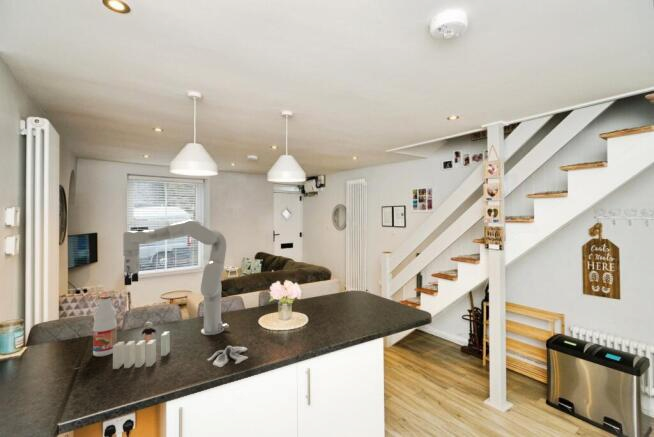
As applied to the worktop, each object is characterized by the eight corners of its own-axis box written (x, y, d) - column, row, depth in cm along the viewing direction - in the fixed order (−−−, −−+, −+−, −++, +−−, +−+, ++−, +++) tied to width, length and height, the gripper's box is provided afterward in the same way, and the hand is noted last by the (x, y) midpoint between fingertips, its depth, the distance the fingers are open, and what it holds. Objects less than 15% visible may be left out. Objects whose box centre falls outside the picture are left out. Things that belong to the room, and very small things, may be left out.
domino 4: (156, 361, 139) (156, 339, 139) (151, 366, 134) (151, 343, 134) (150, 361, 139) (150, 339, 139) (146, 366, 134) (146, 344, 134)
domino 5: (169, 351, 149) (169, 331, 149) (165, 355, 144) (165, 335, 144) (164, 351, 149) (164, 331, 149) (160, 356, 144) (160, 335, 144)
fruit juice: (121, 350, 151) (121, 294, 151) (101, 358, 142) (101, 299, 142) (108, 347, 154) (108, 292, 154) (88, 354, 145) (88, 297, 146)
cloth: (245, 346, 156) (245, 334, 156) (254, 361, 140) (254, 347, 140) (199, 355, 146) (198, 343, 146) (203, 372, 129) (203, 358, 129)
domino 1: (124, 363, 137) (124, 341, 137) (118, 368, 132) (118, 345, 132) (119, 363, 137) (119, 341, 137) (113, 368, 132) (113, 346, 132)
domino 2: (135, 362, 138) (134, 340, 138) (129, 367, 133) (129, 345, 133) (129, 362, 137) (129, 341, 137) (124, 368, 132) (124, 345, 132)
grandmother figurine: (139, 348, 152) (139, 323, 152) (140, 346, 156) (140, 321, 156) (157, 345, 156) (157, 321, 156) (157, 343, 159) (157, 319, 159)
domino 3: (145, 361, 138) (145, 340, 138) (140, 367, 133) (140, 344, 133) (140, 362, 138) (140, 340, 138) (135, 367, 133) (135, 344, 133)
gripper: (132, 254, 161) (132, 286, 161) (144, 251, 178) (144, 280, 178) (117, 254, 159) (117, 287, 159) (130, 251, 176) (130, 280, 176)
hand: (131, 283), depth 169 cm, fingers open, 9 cm apart
